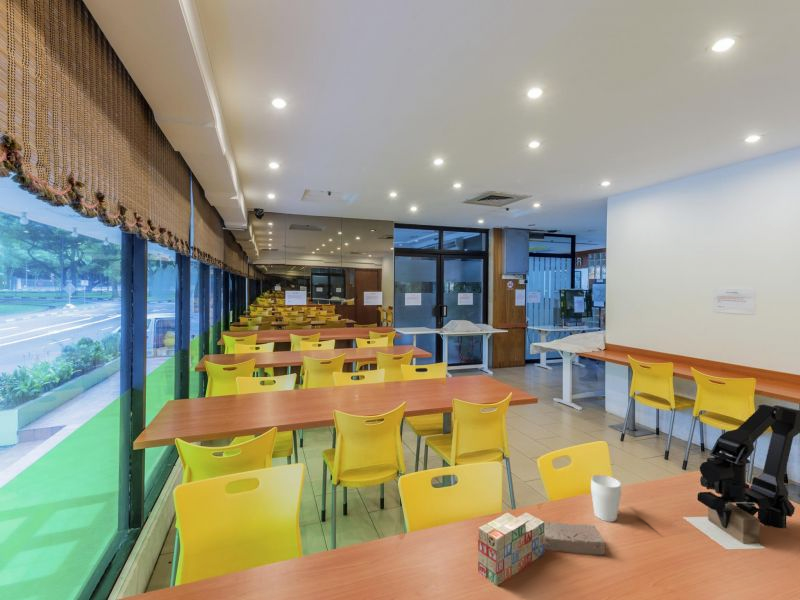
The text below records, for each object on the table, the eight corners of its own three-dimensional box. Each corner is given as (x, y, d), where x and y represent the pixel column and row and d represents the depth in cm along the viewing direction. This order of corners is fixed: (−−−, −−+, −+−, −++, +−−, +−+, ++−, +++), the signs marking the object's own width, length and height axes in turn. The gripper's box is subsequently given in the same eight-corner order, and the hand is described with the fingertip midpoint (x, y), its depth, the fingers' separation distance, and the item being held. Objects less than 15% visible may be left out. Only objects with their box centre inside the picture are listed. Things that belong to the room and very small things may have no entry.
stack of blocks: (526, 542, 114) (526, 502, 114) (544, 554, 109) (545, 511, 109) (477, 572, 102) (478, 526, 102) (496, 587, 97) (496, 538, 97)
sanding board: (717, 521, 127) (717, 516, 127) (765, 553, 111) (765, 548, 111) (682, 521, 126) (682, 517, 126) (726, 554, 110) (726, 549, 110)
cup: (621, 514, 130) (621, 479, 130) (619, 527, 123) (620, 490, 122) (591, 506, 135) (592, 472, 135) (588, 518, 127) (589, 482, 127)
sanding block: (722, 519, 125) (722, 498, 125) (759, 542, 113) (759, 519, 113) (708, 520, 124) (708, 498, 124) (743, 543, 112) (743, 519, 112)
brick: (545, 551, 111) (545, 535, 111) (538, 533, 119) (539, 518, 119) (605, 558, 108) (606, 541, 108) (595, 539, 117) (595, 524, 117)
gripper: (737, 465, 127) (736, 512, 127) (683, 466, 126) (683, 513, 126) (771, 481, 116) (771, 532, 116) (713, 482, 115) (712, 534, 115)
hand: (732, 527), depth 119 cm, fingers closed on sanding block, 5 cm apart
